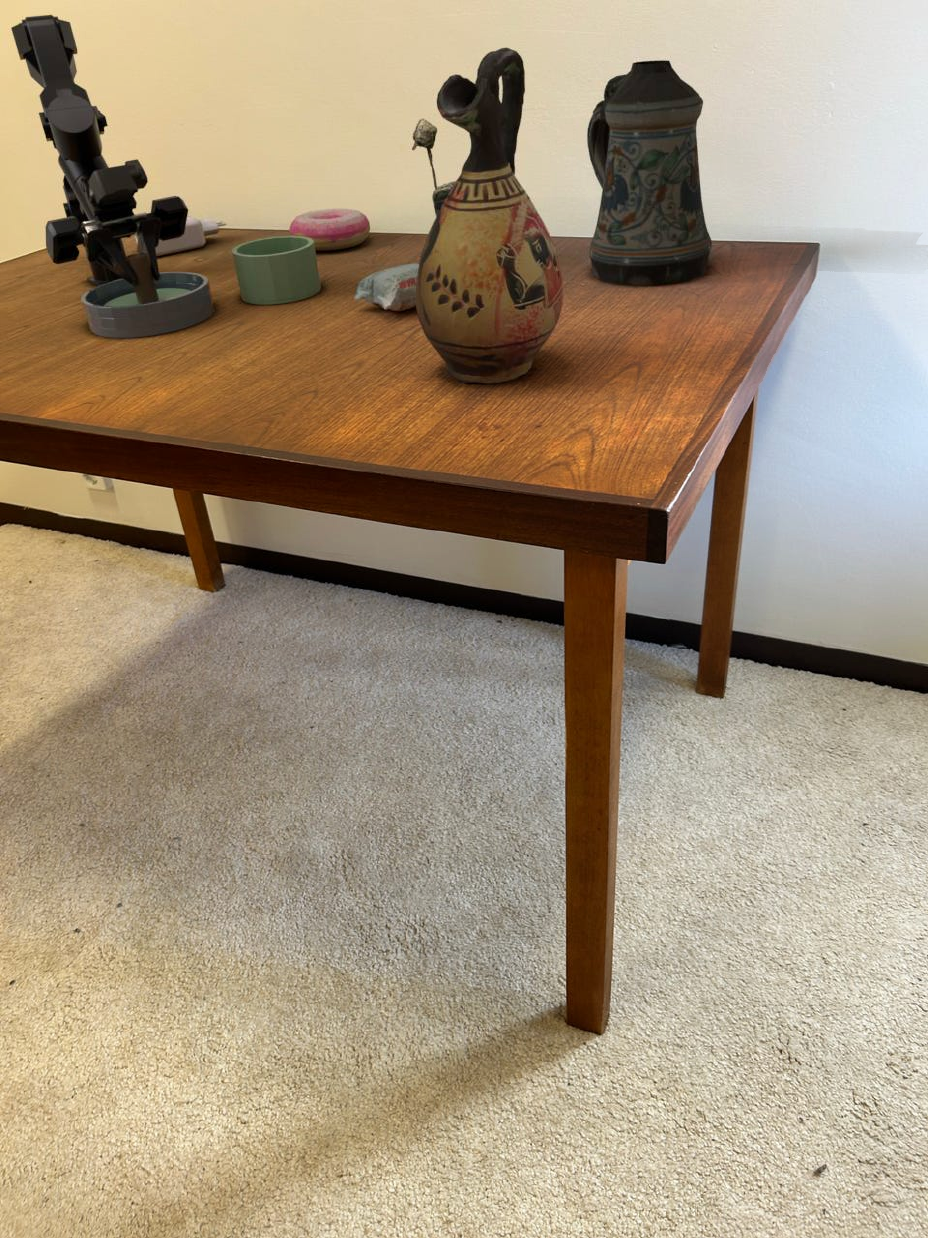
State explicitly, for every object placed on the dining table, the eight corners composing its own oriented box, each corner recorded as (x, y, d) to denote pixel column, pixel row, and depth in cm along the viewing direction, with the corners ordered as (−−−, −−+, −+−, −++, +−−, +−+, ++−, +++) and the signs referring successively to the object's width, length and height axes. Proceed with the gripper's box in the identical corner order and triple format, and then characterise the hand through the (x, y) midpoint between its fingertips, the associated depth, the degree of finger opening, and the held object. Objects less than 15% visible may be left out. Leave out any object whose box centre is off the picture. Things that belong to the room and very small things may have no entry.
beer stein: (686, 290, 122) (699, 67, 108) (550, 280, 130) (545, 73, 116) (725, 257, 133) (741, 52, 119) (598, 250, 142) (599, 58, 128)
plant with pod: (464, 278, 135) (452, 122, 123) (409, 268, 141) (393, 119, 130) (501, 264, 139) (493, 112, 128) (446, 256, 146) (434, 110, 135)
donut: (367, 252, 152) (363, 219, 149) (285, 258, 153) (280, 225, 150) (375, 232, 163) (371, 202, 160) (299, 238, 164) (294, 208, 161)
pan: (73, 321, 132) (64, 292, 130) (184, 293, 140) (177, 265, 137) (116, 346, 120) (107, 315, 118) (234, 314, 128) (228, 284, 126)
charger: (237, 241, 166) (154, 258, 160) (217, 233, 173) (138, 249, 166) (231, 212, 163) (147, 229, 157) (212, 206, 170) (130, 221, 164)
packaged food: (462, 301, 125) (459, 263, 122) (387, 323, 120) (382, 283, 117) (426, 290, 131) (422, 253, 128) (353, 310, 126) (347, 272, 123)
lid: (104, 304, 133) (89, 252, 129) (192, 290, 136) (180, 239, 132) (104, 329, 123) (87, 273, 119) (199, 313, 126) (186, 258, 122)
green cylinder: (228, 294, 137) (218, 248, 133) (296, 277, 142) (288, 232, 139) (264, 309, 129) (255, 260, 126) (335, 290, 135) (328, 242, 131)
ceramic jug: (521, 404, 94) (505, 58, 77) (396, 384, 102) (357, 64, 85) (594, 349, 106) (595, 37, 89) (477, 335, 113) (457, 44, 96)
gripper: (22, 152, 116) (79, 259, 115) (164, 129, 125) (219, 228, 123) (25, 213, 126) (78, 311, 124) (157, 187, 135) (207, 279, 133)
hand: (147, 281), depth 126 cm, fingers closed on lid, 3 cm apart
